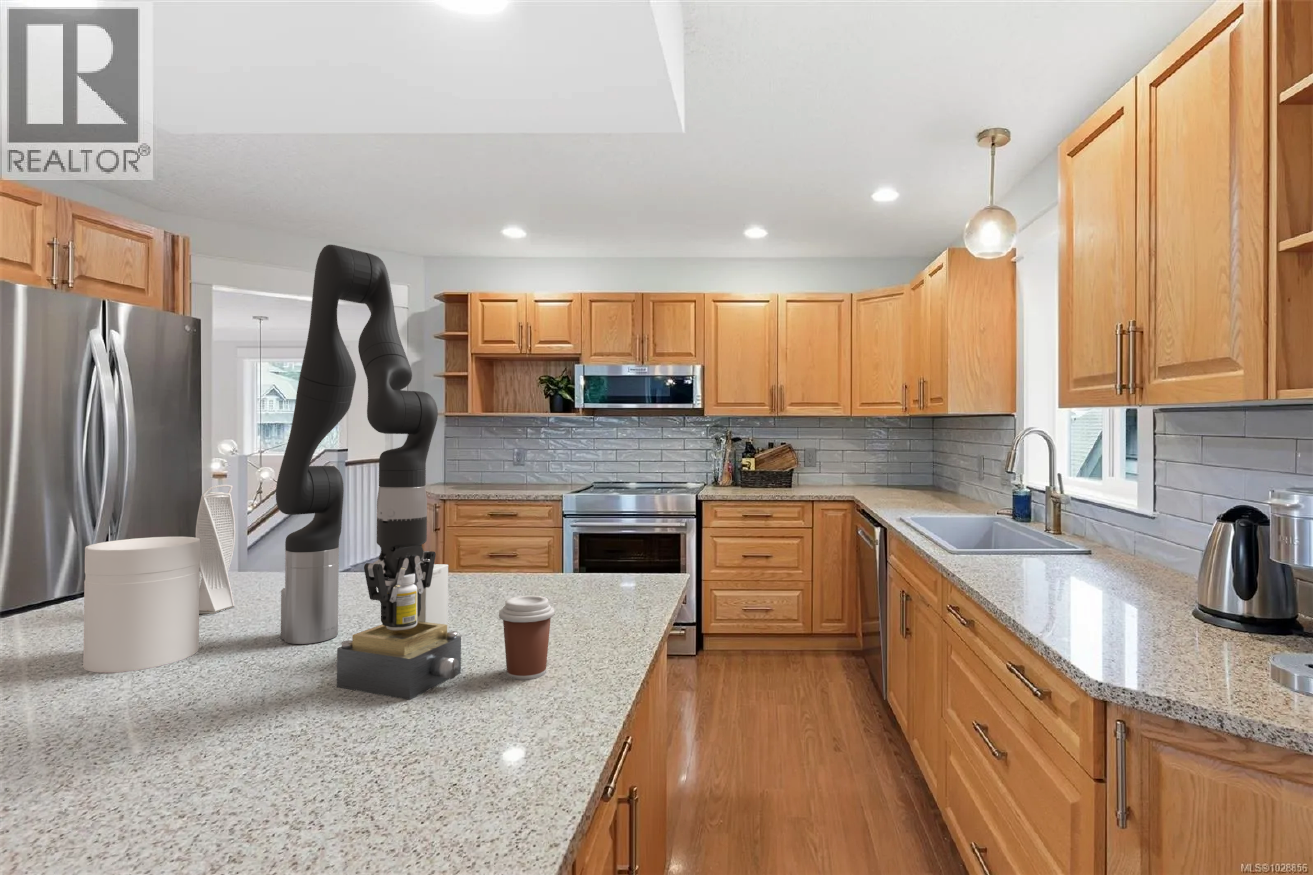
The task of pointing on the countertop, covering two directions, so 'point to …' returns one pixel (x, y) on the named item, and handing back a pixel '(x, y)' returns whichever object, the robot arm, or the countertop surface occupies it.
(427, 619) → the skincare box
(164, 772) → the countertop surface
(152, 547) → the canister
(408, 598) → the supplement bottle
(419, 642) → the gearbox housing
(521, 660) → the coffee cup
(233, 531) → the skyscraper
